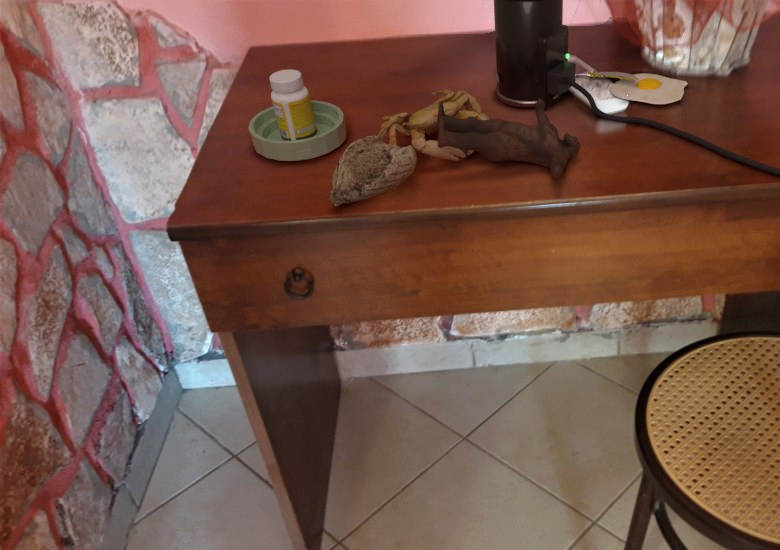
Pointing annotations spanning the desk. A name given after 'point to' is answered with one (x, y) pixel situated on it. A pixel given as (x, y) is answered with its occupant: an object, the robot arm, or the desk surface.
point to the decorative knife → (614, 75)
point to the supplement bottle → (292, 106)
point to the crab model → (432, 124)
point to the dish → (273, 146)
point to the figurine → (509, 139)
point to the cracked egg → (650, 89)
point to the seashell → (371, 170)
